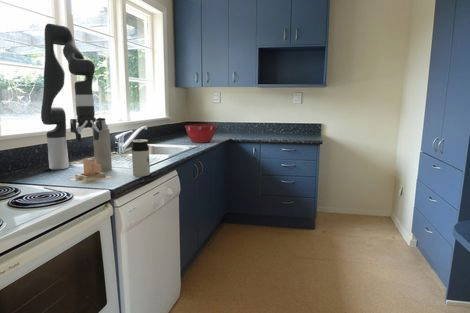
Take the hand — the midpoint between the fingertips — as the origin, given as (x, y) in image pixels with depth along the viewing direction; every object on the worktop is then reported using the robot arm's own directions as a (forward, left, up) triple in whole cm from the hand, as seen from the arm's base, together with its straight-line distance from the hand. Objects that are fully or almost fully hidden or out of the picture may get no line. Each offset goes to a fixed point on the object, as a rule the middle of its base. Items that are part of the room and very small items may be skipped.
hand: (87, 141), depth 147 cm
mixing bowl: (-42, +138, -19) cm, 146 cm away
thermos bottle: (-11, +15, -19) cm, 27 cm away
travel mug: (+14, +18, -19) cm, 30 cm away
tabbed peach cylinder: (+2, 0, -17) cm, 18 cm away
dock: (0, 0, -19) cm, 19 cm away
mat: (+1, -13, -19) cm, 23 cm away
